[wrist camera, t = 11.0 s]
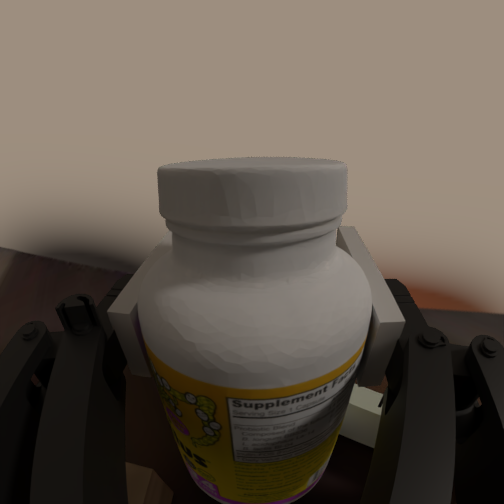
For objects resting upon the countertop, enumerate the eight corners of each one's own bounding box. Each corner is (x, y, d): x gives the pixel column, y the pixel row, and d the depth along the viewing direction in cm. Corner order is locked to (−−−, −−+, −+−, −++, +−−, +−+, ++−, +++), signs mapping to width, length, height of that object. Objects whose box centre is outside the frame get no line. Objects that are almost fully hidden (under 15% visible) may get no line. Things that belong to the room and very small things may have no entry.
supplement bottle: (182, 417, 14) (138, 163, 10) (298, 398, 15) (315, 156, 11) (197, 525, 8) (72, 184, 3) (347, 491, 9) (450, 176, 5)
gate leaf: (493, 449, 9) (522, 421, 8) (487, 480, 7) (519, 455, 6) (263, 363, 18) (264, 328, 17) (242, 384, 16) (239, 350, 15)
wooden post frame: (513, 446, 9) (626, 275, 3) (522, 475, 7) (654, 306, 1) (137, 479, 10) (1, 278, 5) (126, 517, 8) (-59, 338, 3)
